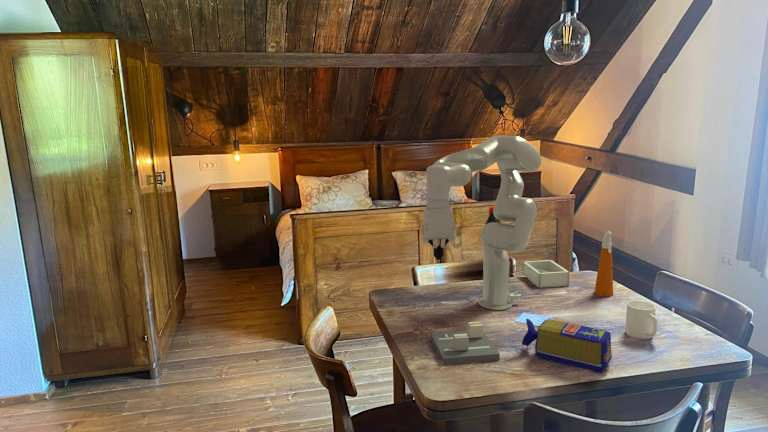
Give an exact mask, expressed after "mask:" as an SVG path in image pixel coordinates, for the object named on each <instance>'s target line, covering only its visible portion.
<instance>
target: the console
mask: <svg viewBox="0 0 768 432" xmlns="http://www.w3.org/2000/svg"><path fill="white" fill-rule="evenodd" d="M464 333H466V334H467V335H468V337H469V350H460V351H455V349H454V347H453V334H464ZM430 339H431V342H432V343H433V346H434V348H435V350H436V352H437V354H438V356H439V358H440V360H441V362H442V364H443V365H454V364H455V365H456V364H467V363H481V362H490V361H491V362H493V361H494V362H495V361H500V360H501V358H500V357H501V354H500V352H499V351H498V349H497V348H496V347H495V345H494V344H493V343H492V341H491V340H490V338H489V337H488V336H487V335H486V334H485V332H484V331H483V337H478V338H471V337H470V336H469V334H468V329H467V330H455V331H443V332H431V333H430Z"/></svg>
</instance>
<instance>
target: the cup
mask: <svg viewBox="0 0 768 432" xmlns="http://www.w3.org/2000/svg"><path fill="white" fill-rule="evenodd" d="M625 313H626V314H625V315H626V316H625V328H624V330H625V331H624V332H625V334H626V335H627V336H629V337H630V338H633V339H636V338H637V340H650V339H651V338H652V337H655V336H656V335H657V332H658V320H657V317H656V305H655V304H654V303H651V302H649V301H645V300H629V301H628V302H627V303H626V312H625ZM649 338H650V339H649Z"/></svg>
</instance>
